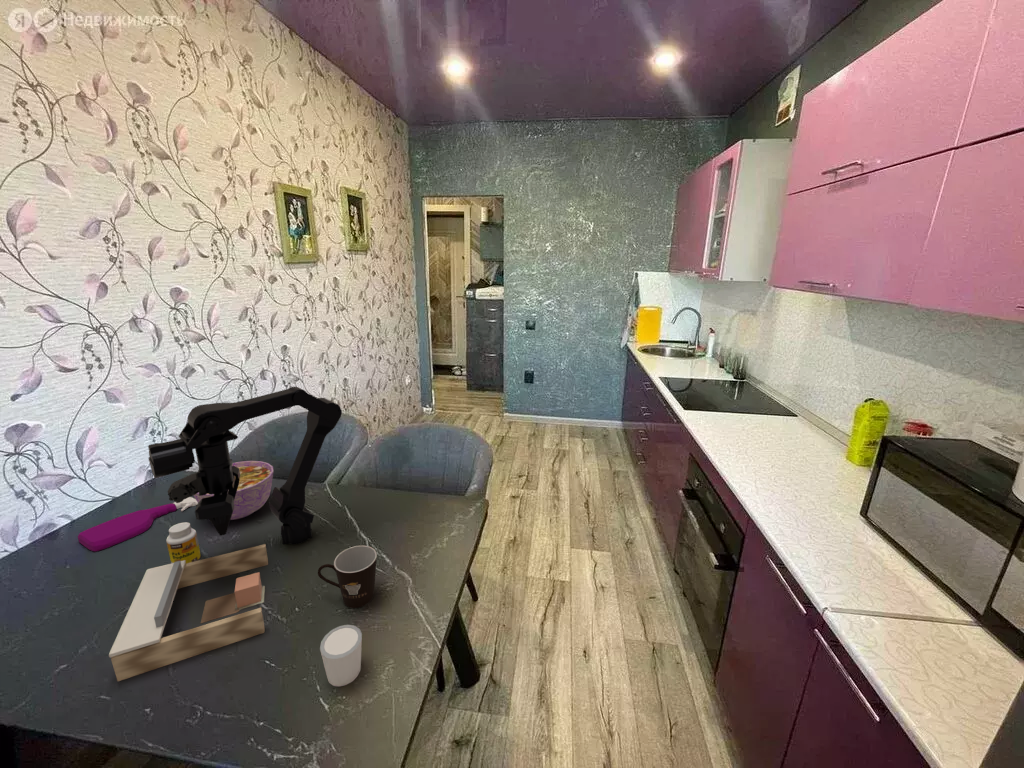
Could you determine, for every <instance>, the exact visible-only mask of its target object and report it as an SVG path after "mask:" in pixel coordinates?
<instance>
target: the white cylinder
mask: <svg viewBox="0 0 1024 768" xmlns="http://www.w3.org/2000/svg"><path fill="white" fill-rule="evenodd" d="M362 637H363V633H362V631H361V629H360V628H359V627H357V626H356V625H353V624H344V625H343V624H342V625H338V626H337V627H334V628H332V629H331V630H330V631H329V632H327V633H326V634H325V635H324V637H323V638H322V640H321V642H320V647H319V651H320V654H321V657H322V662H323V667H324V671H325V674H326V678H327V680H328V683H329V684H330V685H332V686H333V687H343V686H347V685H349V684H351V683H352V682H354V681H355V679H356V678H357V677H358V676H359V674H360V672H361V669H362V665H361V664H362V646H363V645H362V642H363V641H362Z"/></svg>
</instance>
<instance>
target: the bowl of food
mask: <svg viewBox="0 0 1024 768" xmlns="http://www.w3.org/2000/svg"><path fill="white" fill-rule="evenodd" d="M232 466H235V467H237V468H239V470H240V481H239V485H238V489H237V492H236V495H235V499H234V510H233V513H232V516H231V520H230V521H233V520H234V521H236V520H240V519H243V518H245V517H248V516H251V515H252V514H253V513H254V512H257V511H258V510H260V509H261V508H262V507H264V505H265V503H266V502H268V500H269V499H270V498H269V497H270V495H271V490H272V484H273V477H274V466H273V465H271V464H270V463H269V462H265V461H262V460H261V461H260V460H259V461H258V460H246V461H237V462H233V464H232ZM235 479H236V478H235ZM212 496H214V494H209V493H207V494H206V495H202V496H199V492H198V493H197V494H195V495H193V498H194V499H196V501H197V502H199V501H200V500H201V499H202V498H207V497H212Z"/></svg>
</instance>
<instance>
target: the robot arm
mask: <svg viewBox="0 0 1024 768" xmlns="http://www.w3.org/2000/svg"><path fill="white" fill-rule="evenodd" d="M295 406H300V407H301V408H303V409H305V410H307V415H306V432H305V434H304V437H303V438H302V439H303V440H302V442H301V444H300V446H299V449H298V452H297V455H296V456H295V460H294V462H293V464H292V467H291V469H290V471H289V474H288V477H287V479H286V481H285V483H284V484H283V485H281V487H274V488H273V491H272V494H271V497H270V498H269V499H268V500H267V503H269V510H270V511H271V513H272V514H273V515H274V516H275V518H276V519H277V520H278V521H279V522H280V523H282V525H281V526H280V535H281V541H282V545H299V544H302V543H305V542H307V541H308V540H310V539H312V538H313V534H312V531H313V529H312V525H311V524H313V521H314V518H315V515H314V514H313V513H312V512H311V511H310V510H309V509H308V508H307V507H306V506H305V505H306V488H307V484H308V482H309V480H310V477H311V475H312V472H313V469H314V466H315V464H316V463H317V460H318V457H319V455H320V451H321V449H322V447H323V445H324V442H325V439H326V437H327V436H328V435H329V433H330V432H332V431H333V430H334V429H336V428H335V427H336V426H337V424H338V423H339V421H340V419H341V418H342V413H343V410H342V409H341V406H339V404H337V403H336V402H334V401H331V400H329V399H328V398H325V397H318V398H317V397H315V395H312V394H310V393H308V392H307V391H306V390H304V389H302V388H300V387H298V386H291V387H289V388H286V389H283V390H279V391H275V392H271V393H268V394H267V393H266V394H264V395H260V396H255V397H251V398H248V399H247V398H246V399H244V400H240V401H235V402H215V403H214V402H213V403H206V404H199V405H197V406H195V407H193V408H192V409H191V410H190V412H189V413H188V416H187V422H186V424H185V425H184V428H182V430H181V431H180V433H179V435H178V438H179V439H175V440H169V441H165V442H158V443H157V442H156V443H153V444H151V443H150V444H149V445H147V448H148V457H147V458H148V462H149V466H150V469H151V473H152V476H153V477H154V479H158V478H162V477H166V476H170V475H172V474H176V473H181V472H184V471H188V470H190V469H191V468H193V467H194V464H195V462H196V461H195V460H196V459H197V466H198V471H197V472H195V473H192V474H190V475H187V476H185V477H182V478H180V479H178V480H176V481H174V482H172V483H171V484H170V485H169V488H168V490H167V495H168V500H169V501H170V502H172V501H174V502H176V503H180V502H182V501H183V500H184V499H186V498H189V497H194V495H195V494H197V493H198V492H199V496H202V495H206V494H207V493H209V494H214V496H212V497H207V498H202V499H201V500H200V501H199V502H198V504H197V505H196V507H195V509H194V514H195V519H196V520H198V521H200V520H201V521H202V520H203V521H204V520H207V521H209V522H210V523H211V524H212V526H213V527H214V529H215V530H216V531H217V533H218V535H219V536H224V535H227V531H228V530H229V529H228V528H229V525H230V522H231V521H232V520H231V516H232V513H233V510H234V499H235V495H236V492H237V489H238V485H239V481H240V470H239V468H237V467H235V466H232V464H233V463H234V462H233V459H232V458H231V455H230V450H229V443H228V442H230V441H235V440H238V438H239V437H238V435H237V434H236V433H235V432H233V431H231V430H232V429H234V428H235V427H237V426H238V425H240V424H241V423H242V422H245V421H248V420H252V419H254V418H258V417H262V416H265V415H268V414H272V413H276V412H279V411H282V410H286V409H290V408H292V407H295ZM194 451H195V454H196V458H195V454H194ZM235 478H236V479H235Z"/></svg>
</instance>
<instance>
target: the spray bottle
mask: <svg viewBox="0 0 1024 768" xmlns="http://www.w3.org/2000/svg"><path fill="white" fill-rule="evenodd" d="M197 504H198V502H197V501H196V499H195V497H193V496H191V497H189V498H186V499H184V500H183V501H182V502H180V503H176V502H175V501H174V502H171V503H167V504H163V505H158V506H153V507H151V508H147V509H139V510H136V511H133V512H129V513H126V514H122V515H121V516H118V517H115V518H113V519H110V520H107V521H105V522H101V523H100V524H98V525H95V526H92V527H90V528H86V529H85V530H82V531H81V532H79V534H78V535H77V539H78V542H79V544H81V545H82V546H84V548H86V549H88V550H89V551H91V552H99V551H103V550H105V549H108V548H111V547H113V546H115V545H118V544H120V543H122V542H126V541H128V540H130V539H133V538H135V537H136V536H139V535H141V534H143V533H145V532H147V531H148V530H149V529H150V528H151V527H152V525H153V523H154V520H155V519H156V518H160V517H162V516H166V515H168V514H169V513H172V512H173V513H174V512H176V511H177V510H179V509H180V508H181V509H180V511H181V512H183V511H184V510H187V509H188V508H190V507H195V506H196V507H197Z"/></svg>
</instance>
